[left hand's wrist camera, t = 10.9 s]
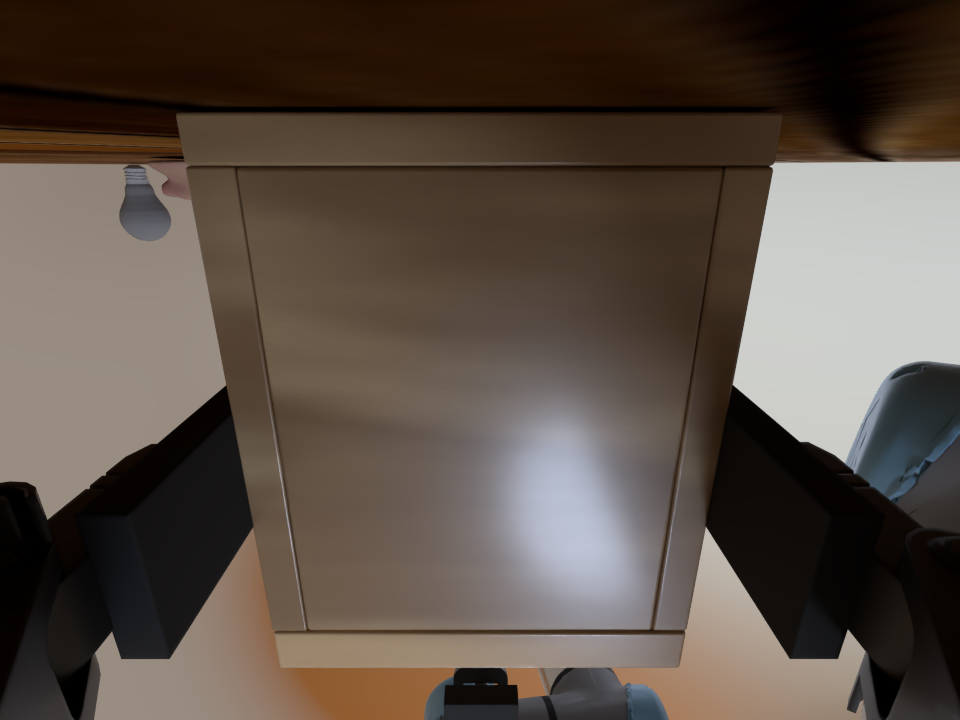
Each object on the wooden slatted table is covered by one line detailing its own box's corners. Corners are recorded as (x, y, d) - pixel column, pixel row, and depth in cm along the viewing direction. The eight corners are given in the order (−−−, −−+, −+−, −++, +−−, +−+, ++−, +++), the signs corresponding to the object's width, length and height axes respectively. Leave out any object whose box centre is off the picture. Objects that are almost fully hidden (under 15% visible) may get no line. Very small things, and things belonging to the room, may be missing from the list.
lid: (580, 395, 25) (569, 547, 28) (379, 395, 25) (390, 547, 28) (687, 633, 12) (643, 862, 15) (272, 633, 12) (315, 861, 15)
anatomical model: (148, 220, 36) (316, 214, 40) (135, 159, 35) (310, 160, 39) (168, 208, 47) (298, 204, 52) (159, 162, 46) (293, 163, 50)
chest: (603, 146, 20) (583, 399, 24) (356, 146, 20) (376, 399, 24) (785, 111, 8) (687, 631, 12) (173, 111, 8) (271, 631, 12)
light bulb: (147, 164, 66) (164, 243, 69) (167, 165, 72) (181, 237, 75) (97, 164, 65) (116, 244, 69) (121, 165, 71) (137, 238, 74)
